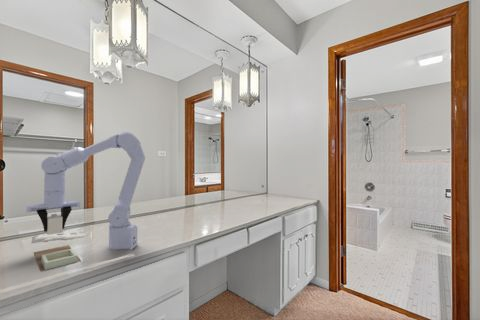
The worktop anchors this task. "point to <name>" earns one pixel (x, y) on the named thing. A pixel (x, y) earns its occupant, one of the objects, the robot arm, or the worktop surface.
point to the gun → (58, 236)
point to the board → (39, 253)
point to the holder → (59, 258)
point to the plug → (54, 224)
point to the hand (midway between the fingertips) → (54, 229)
